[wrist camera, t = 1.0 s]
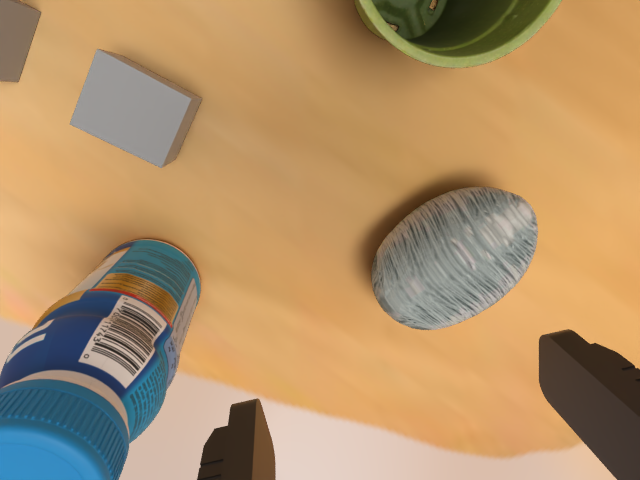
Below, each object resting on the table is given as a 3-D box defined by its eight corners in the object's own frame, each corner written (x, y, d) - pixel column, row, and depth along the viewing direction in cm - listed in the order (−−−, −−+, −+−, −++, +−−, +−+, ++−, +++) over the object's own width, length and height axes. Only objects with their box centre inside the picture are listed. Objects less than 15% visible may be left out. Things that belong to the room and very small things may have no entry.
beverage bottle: (213, 317, 37) (154, 548, 18) (116, 334, 36) (-51, 591, 17) (190, 227, 34) (92, 389, 15) (85, 244, 33) (-155, 434, 14)
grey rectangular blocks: (-57, -41, 26) (-120, -67, 22) (202, 98, 31) (191, 98, 26) (-77, 35, 28) (-140, 24, 23) (175, 158, 32) (161, 168, 28)
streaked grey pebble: (402, 354, 36) (442, 364, 27) (339, 265, 38) (356, 243, 28) (517, 267, 39) (593, 247, 29) (454, 186, 40) (507, 140, 30)
